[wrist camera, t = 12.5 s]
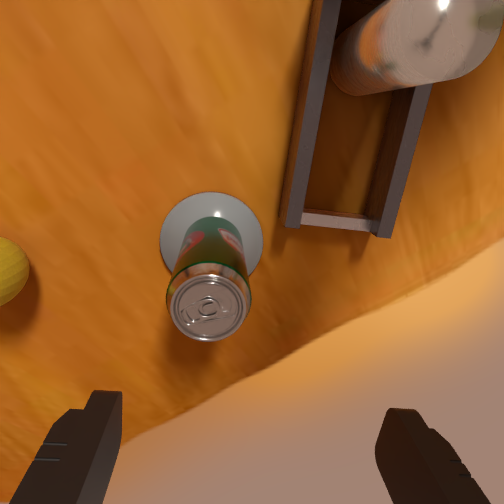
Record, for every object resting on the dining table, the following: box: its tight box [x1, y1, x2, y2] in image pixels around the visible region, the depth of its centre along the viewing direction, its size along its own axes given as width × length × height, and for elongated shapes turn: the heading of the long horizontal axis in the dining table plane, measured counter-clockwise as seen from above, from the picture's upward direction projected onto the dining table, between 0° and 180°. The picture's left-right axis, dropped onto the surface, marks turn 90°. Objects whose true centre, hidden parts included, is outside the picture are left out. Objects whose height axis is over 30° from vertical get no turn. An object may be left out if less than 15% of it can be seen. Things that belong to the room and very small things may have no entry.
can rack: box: [278, 0, 433, 239], centre depth 26 cm, size 18×9×8 cm, turn 172°
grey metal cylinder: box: [329, 0, 504, 96], centre depth 23 cm, size 5×5×12 cm
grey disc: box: [160, 192, 263, 276], centre depth 32 cm, size 9×9×1 cm
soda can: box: [166, 216, 252, 342], centre depth 26 cm, size 5×5×12 cm
